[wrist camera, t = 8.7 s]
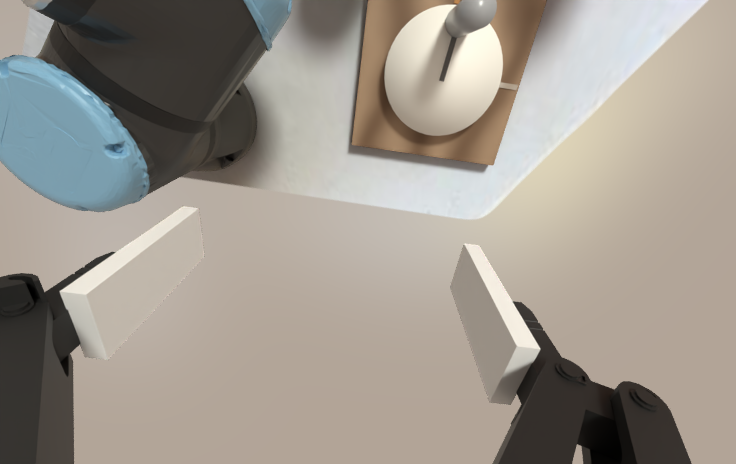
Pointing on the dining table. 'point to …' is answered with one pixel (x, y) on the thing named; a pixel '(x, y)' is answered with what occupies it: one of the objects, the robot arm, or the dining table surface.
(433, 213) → the dining table surface
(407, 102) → the dial
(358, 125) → the dial board
